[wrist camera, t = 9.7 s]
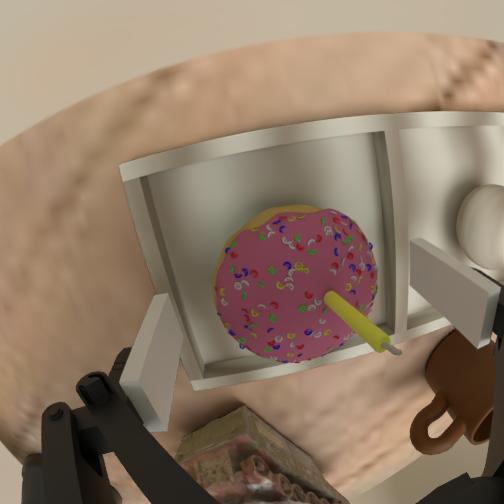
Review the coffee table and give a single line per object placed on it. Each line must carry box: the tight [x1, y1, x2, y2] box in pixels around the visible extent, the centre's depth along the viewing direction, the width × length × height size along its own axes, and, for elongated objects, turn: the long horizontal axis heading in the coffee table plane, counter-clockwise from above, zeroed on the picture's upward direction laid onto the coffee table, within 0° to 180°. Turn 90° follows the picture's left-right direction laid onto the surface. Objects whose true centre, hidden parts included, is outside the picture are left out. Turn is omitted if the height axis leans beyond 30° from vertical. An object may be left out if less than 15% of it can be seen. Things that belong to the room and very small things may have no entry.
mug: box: [410, 330, 496, 455], centre depth 22 cm, size 12×8×9 cm, turn 110°
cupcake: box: [212, 204, 402, 363], centre depth 15 cm, size 9×8×12 cm
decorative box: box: [174, 406, 350, 504], centre depth 24 cm, size 13×20×10 cm, turn 30°
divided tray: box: [119, 111, 504, 391], centre depth 20 cm, size 31×16×2 cm, turn 101°
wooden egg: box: [456, 184, 504, 270], centre depth 18 cm, size 6×6×6 cm
